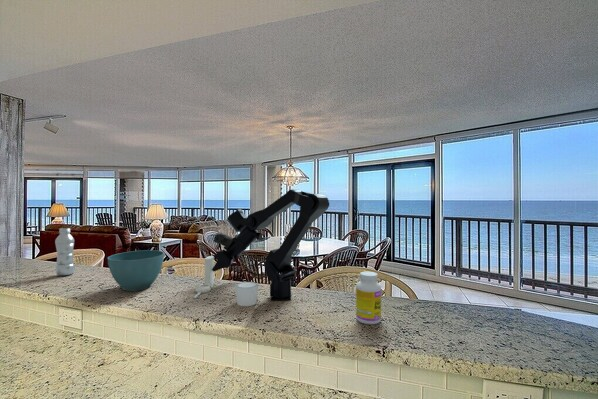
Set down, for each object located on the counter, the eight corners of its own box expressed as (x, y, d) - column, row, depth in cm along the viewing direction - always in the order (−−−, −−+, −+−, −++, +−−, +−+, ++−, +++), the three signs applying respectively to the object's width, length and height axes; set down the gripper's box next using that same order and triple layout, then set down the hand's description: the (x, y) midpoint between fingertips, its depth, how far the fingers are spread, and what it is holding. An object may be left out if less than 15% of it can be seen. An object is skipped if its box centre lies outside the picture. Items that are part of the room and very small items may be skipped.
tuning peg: (217, 282, 111) (217, 256, 110) (202, 298, 93) (202, 267, 93) (204, 282, 111) (204, 256, 110) (186, 298, 93) (186, 267, 93)
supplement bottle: (376, 327, 77) (376, 278, 77) (352, 321, 80) (352, 274, 80) (384, 318, 82) (384, 272, 82) (361, 313, 86) (361, 269, 86)
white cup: (246, 313, 86) (246, 289, 85) (230, 308, 90) (230, 285, 90) (262, 306, 91) (262, 284, 91) (247, 301, 95) (247, 280, 95)
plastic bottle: (67, 277, 123) (66, 229, 123) (51, 277, 123) (50, 229, 123) (79, 273, 130) (78, 227, 129) (63, 273, 130) (63, 227, 129)
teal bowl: (132, 299, 98) (132, 262, 97) (95, 292, 104) (95, 257, 104) (174, 283, 114) (174, 252, 114) (140, 278, 121) (140, 248, 121)
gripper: (233, 222, 117) (205, 250, 117) (220, 227, 98) (187, 260, 99) (253, 242, 117) (225, 270, 117) (244, 251, 98) (211, 284, 99)
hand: (212, 270), depth 108 cm, fingers closed
